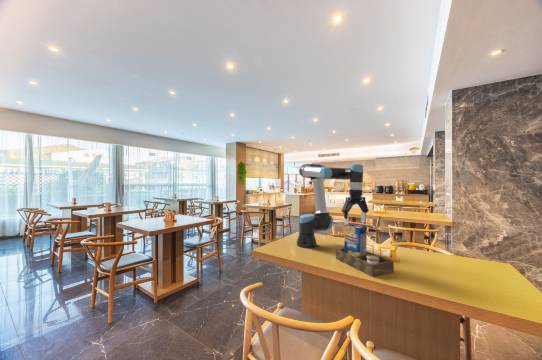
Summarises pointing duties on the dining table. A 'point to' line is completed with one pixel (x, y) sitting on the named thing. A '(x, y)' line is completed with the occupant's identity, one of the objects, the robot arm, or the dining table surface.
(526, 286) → the dining table surface
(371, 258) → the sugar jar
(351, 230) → the beverage box
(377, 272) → the caddy
